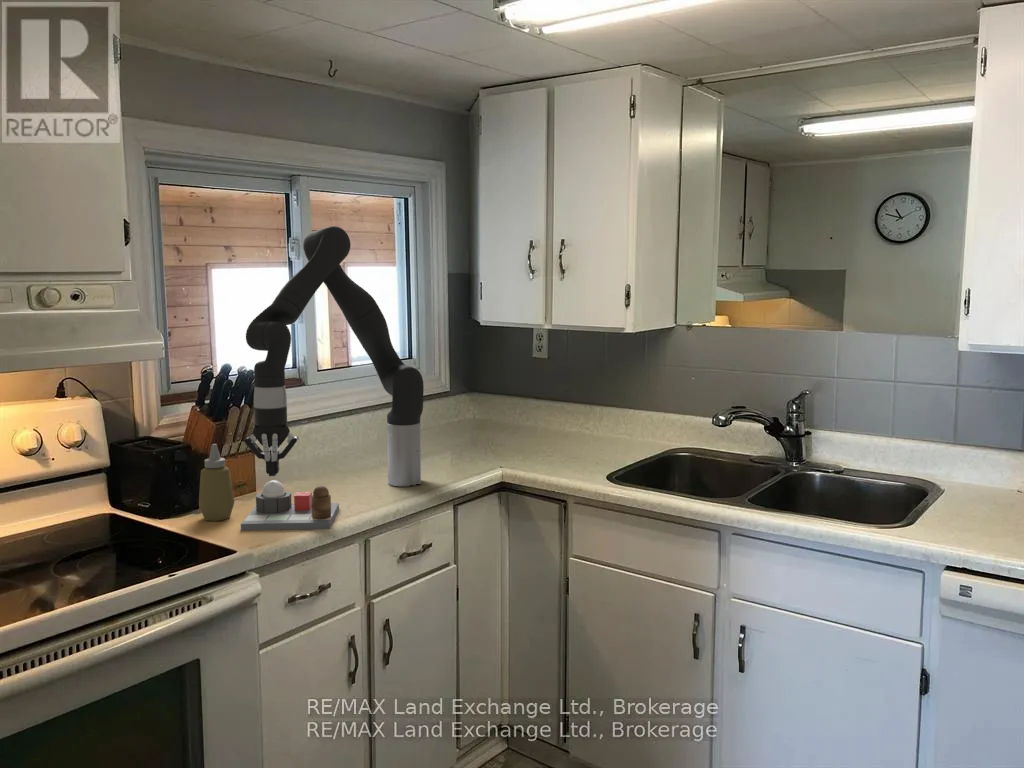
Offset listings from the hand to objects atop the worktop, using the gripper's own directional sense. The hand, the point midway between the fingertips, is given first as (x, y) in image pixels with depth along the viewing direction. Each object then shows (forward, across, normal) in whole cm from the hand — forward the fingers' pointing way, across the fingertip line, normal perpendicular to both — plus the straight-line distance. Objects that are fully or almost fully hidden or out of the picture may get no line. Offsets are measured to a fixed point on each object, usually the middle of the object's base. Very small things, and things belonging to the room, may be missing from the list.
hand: (272, 475), depth 196 cm
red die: (+8, -7, 0) cm, 11 cm away
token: (+8, -13, +8) cm, 17 cm away
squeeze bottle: (+10, +13, +2) cm, 16 cm away
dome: (+6, 0, 0) cm, 6 cm away
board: (+10, -5, +4) cm, 12 cm away
